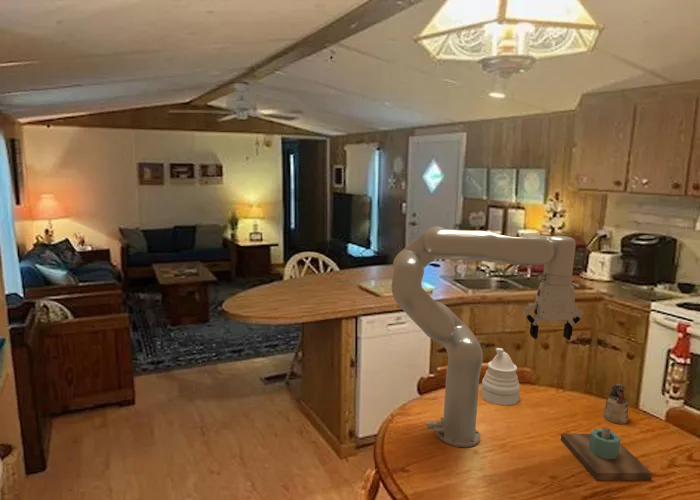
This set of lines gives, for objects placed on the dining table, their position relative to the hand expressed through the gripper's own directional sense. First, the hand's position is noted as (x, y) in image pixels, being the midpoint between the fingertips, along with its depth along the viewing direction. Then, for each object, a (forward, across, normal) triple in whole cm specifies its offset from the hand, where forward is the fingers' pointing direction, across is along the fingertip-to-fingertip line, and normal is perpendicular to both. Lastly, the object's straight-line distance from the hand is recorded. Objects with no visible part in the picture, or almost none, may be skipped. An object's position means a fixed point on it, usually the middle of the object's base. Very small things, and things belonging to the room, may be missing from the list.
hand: (550, 337), depth 149 cm
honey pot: (+32, -2, +29) cm, 44 cm away
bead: (+30, +14, -10) cm, 34 cm away
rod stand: (+32, +14, -10) cm, 36 cm away
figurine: (+32, +31, +14) cm, 46 cm away
